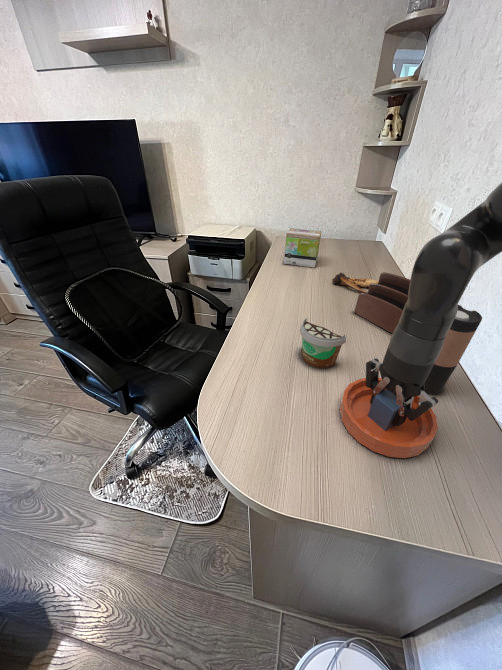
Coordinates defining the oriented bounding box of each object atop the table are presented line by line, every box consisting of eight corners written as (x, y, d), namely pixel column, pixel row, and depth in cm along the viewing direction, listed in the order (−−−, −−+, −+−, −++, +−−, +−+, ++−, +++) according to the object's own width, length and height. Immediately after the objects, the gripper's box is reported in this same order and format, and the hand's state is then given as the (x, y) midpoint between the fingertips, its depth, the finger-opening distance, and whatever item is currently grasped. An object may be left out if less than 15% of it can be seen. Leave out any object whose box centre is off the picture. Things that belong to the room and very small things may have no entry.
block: (399, 421, 58) (409, 402, 54) (385, 431, 56) (394, 411, 52) (381, 407, 61) (389, 387, 57) (367, 415, 59) (374, 396, 55)
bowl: (448, 433, 56) (456, 420, 54) (391, 476, 49) (398, 464, 46) (376, 380, 68) (380, 367, 66) (322, 408, 61) (325, 395, 59)
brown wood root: (330, 290, 111) (379, 295, 106) (332, 279, 108) (382, 284, 103) (332, 280, 118) (377, 284, 113) (333, 270, 115) (380, 274, 111)
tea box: (283, 264, 133) (285, 232, 124) (287, 257, 140) (289, 227, 132) (315, 268, 129) (319, 235, 121) (317, 261, 137) (321, 230, 128)
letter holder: (372, 305, 100) (383, 268, 91) (425, 332, 86) (443, 291, 78) (353, 313, 95) (362, 274, 87) (405, 342, 81) (422, 299, 73)
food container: (287, 357, 76) (290, 326, 70) (300, 347, 79) (304, 317, 74) (327, 378, 69) (334, 346, 63) (339, 366, 72) (347, 335, 67)
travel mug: (412, 393, 65) (447, 320, 53) (403, 371, 71) (433, 302, 60) (448, 397, 64) (491, 324, 52) (435, 374, 70) (471, 305, 59)
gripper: (468, 366, 44) (428, 432, 54) (390, 324, 54) (369, 386, 64) (441, 383, 41) (404, 450, 51) (364, 335, 51) (346, 399, 61)
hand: (384, 414), depth 57 cm, fingers closed on block, 4 cm apart
